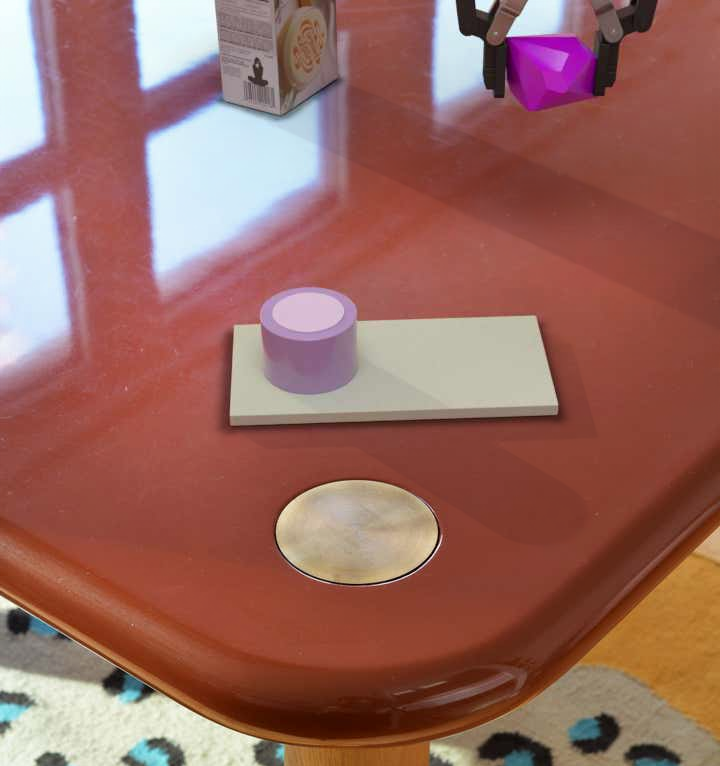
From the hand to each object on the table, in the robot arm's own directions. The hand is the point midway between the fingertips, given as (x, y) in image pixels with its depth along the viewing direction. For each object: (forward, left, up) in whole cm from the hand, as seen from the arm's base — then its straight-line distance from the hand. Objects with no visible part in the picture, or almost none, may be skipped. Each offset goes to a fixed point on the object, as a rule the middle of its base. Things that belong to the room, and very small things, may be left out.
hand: (547, 91), depth 91 cm
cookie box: (+19, -27, -11) cm, 35 cm away
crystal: (0, 0, -1) cm, 1 cm away
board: (+12, +16, -11) cm, 23 cm away
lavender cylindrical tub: (+17, +16, -10) cm, 25 cm away
